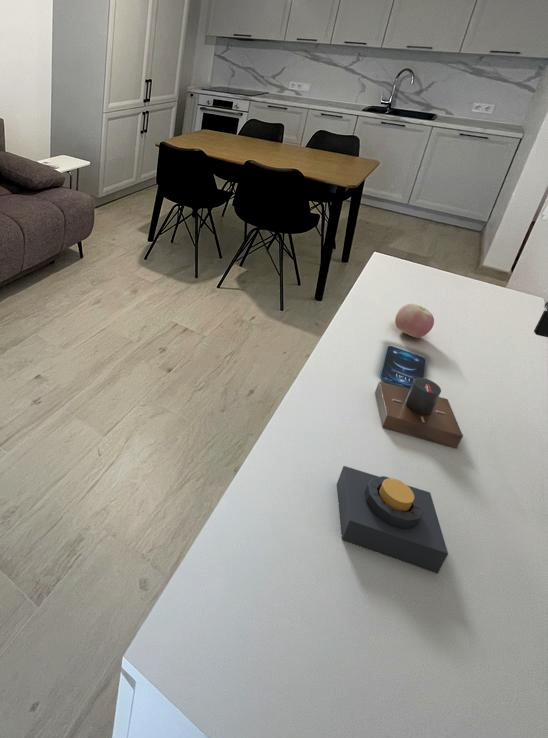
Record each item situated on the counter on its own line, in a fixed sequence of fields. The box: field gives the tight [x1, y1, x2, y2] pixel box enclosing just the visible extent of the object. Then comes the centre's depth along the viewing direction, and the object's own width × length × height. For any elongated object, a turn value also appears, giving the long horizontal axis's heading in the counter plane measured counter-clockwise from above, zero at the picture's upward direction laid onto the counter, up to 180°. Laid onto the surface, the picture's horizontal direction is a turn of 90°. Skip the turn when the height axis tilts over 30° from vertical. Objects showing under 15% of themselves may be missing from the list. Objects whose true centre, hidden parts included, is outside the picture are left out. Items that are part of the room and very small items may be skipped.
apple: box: [394, 303, 435, 339], centre depth 118 cm, size 8×8×8 cm
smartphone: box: [379, 345, 426, 389], centre depth 107 cm, size 8×1×15 cm
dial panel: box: [374, 381, 463, 449], centre depth 93 cm, size 12×10×3 cm
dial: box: [405, 377, 442, 415], centre depth 91 cm, size 4×4×5 cm
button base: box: [336, 465, 449, 574], centre depth 72 cm, size 12×10×6 cm
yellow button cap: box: [379, 477, 414, 511], centre depth 70 cm, size 4×4×2 cm
